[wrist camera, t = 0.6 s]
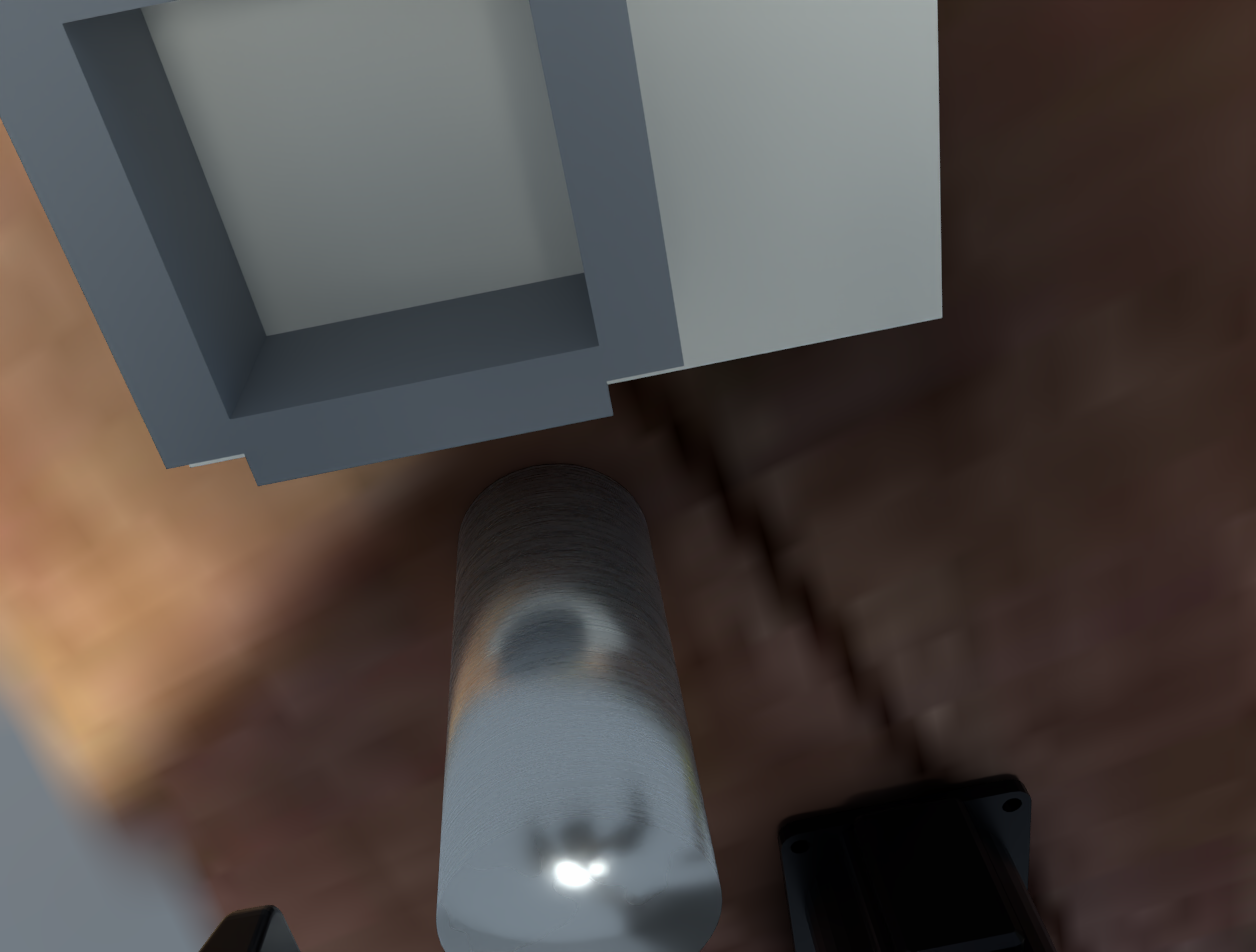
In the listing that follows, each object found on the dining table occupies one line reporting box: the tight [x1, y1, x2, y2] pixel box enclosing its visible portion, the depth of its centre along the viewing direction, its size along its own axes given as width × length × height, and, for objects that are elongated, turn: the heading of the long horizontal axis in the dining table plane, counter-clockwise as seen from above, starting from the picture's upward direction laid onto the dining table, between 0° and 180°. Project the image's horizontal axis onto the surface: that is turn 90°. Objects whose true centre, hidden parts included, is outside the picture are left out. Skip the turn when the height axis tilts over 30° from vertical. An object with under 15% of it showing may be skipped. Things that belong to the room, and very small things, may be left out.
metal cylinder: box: [436, 464, 722, 952], centre depth 19 cm, size 4×4×9 cm
